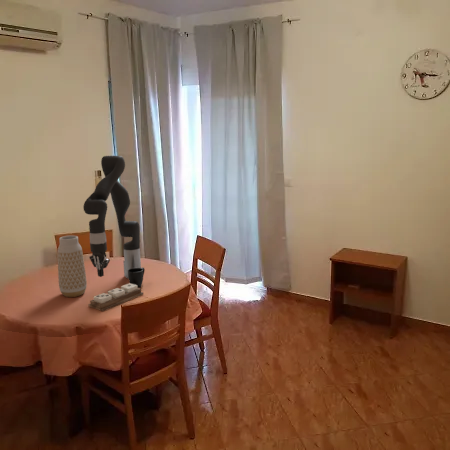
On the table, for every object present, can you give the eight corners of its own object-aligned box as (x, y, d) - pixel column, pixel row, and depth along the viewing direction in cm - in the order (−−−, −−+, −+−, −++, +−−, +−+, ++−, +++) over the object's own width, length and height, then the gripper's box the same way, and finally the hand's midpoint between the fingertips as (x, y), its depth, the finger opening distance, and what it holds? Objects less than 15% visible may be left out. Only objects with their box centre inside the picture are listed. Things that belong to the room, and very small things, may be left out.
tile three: (93, 301, 205) (93, 296, 205) (103, 297, 210) (103, 292, 209) (101, 304, 202) (101, 298, 201) (111, 300, 207) (111, 295, 206)
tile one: (121, 291, 219) (120, 286, 218) (129, 287, 223) (129, 282, 223) (129, 293, 215) (128, 288, 215) (137, 289, 220) (137, 285, 219)
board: (88, 306, 206) (88, 300, 205) (129, 290, 227) (128, 285, 226) (102, 311, 200) (102, 305, 199) (143, 294, 220) (143, 289, 220)
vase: (61, 300, 214) (55, 242, 207) (58, 292, 226) (52, 236, 219) (89, 295, 220) (84, 238, 213) (85, 287, 232) (80, 233, 225)
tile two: (107, 296, 212) (107, 291, 211) (117, 292, 217) (116, 287, 216) (115, 298, 209) (115, 293, 208) (125, 294, 213) (124, 289, 213)
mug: (150, 283, 237) (149, 266, 236) (138, 290, 227) (137, 273, 225) (138, 281, 241) (137, 265, 239) (125, 288, 230) (124, 271, 228)
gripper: (82, 241, 201) (85, 275, 204) (100, 244, 193) (103, 281, 197) (95, 238, 207) (98, 271, 210) (113, 241, 199) (116, 276, 202)
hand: (100, 276), depth 203 cm, fingers closed
